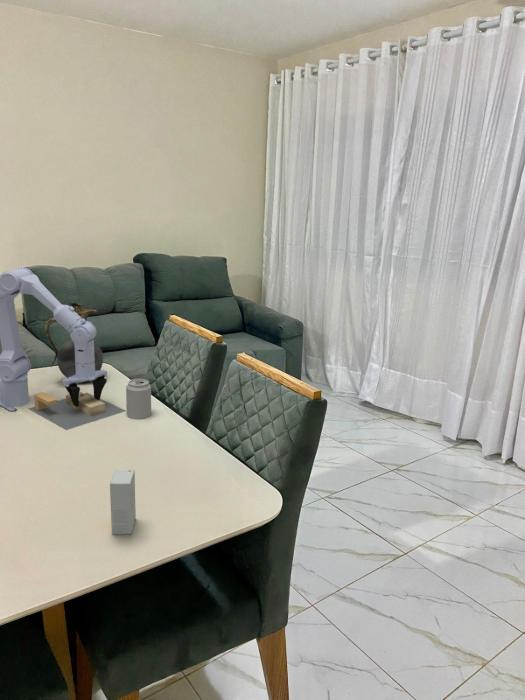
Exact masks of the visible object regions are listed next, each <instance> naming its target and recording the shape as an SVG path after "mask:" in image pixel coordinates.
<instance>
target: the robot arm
mask: <svg viewBox="0 0 525 700" xmlns="http://www.w3.org/2000/svg"><path fill="white" fill-rule="evenodd" d="M21 294H22V295H31V296H33V297H34V298H35V299H37V300H38V301H39V302H41V304H42V305H44V306H45V307H46V308H47V309H49V310H50V311H51V312H52V315H53V318H54V319H55V320H56V321H57V322H56V323H58V324H59V325H60V326H62V327H63V328H64V329H65V330H66V331H67V332H68V333H69V335H70V339H72V341H73V342H74V344H75V367H76V374H75V375H73V376H71V377H69V378H67V377H65V378H63V379H62V386H64V388H65V389H66V391H67V393H68V395H70V397H71V400H72V403H73V405H74V406H76V407H78V406H79V391H80V392H81V386H78V384H77V383H81V382H85V381H91V383H92V386H93V396H94V398H95V399H97V400H100V399H101V396H102V393H103V389H104V387H105V385H106V383H108V380H107V377H108V370H107V369H106V370H105V369H101V370H99V371H95V357H94V341H95V340H94V338H96V336H97V328H96V326H95V325H94V323H93V322H91V321H88V320H87V321H86V320H85V319H82V318H81V317H80V316H79V315H78V314H77V313H76V312H75V311H74V308H73V306H72V305H69V304H68V305H67V304H62V303H61V302H60V301H59V300H58V299H57V298H56V297H55V296H54V295H53V294H52V292H50V291H49V290H48V289H47V288H46V286H45V285H43V283H42V282H41V281H40V279H39V277H38V275H36V274H35V273H33V271H32V270H31V269H29V268H27V267H19V268H16V269H12V270H5V271H3V272H2V273H1V274H0V345H1V353H0V406H1V407H3V408H4V409H6V410H8V411H10V412H14V411H18V409H17V407H18V408H19V407H22V406H23V407H25V405H26V406H27V405H28V404H30V396H29V381H28V375H29V374H28V373H29V372H30V370H31V368H32V364H31V361H30V359H29V358H28V355H27V351H25V350H24V349H23V348H22V345H21V337H20V331H19V325H18V319H17V311H16V305H15V299H16V297H18V295H21ZM76 384H77V385H76Z"/></svg>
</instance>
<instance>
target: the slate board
mask: <svg viewBox="0 0 525 700" xmlns="http://www.w3.org/2000/svg"><path fill="white" fill-rule="evenodd" d="M80 392H81V390H80V391H79V397H81V396H80ZM84 394H86V395H88V396H90V397H92V398H94V394H91V393H88V392H85V393H84ZM33 399H34V406H33V407H29V408H28V410H30V411H32V412H33V413H35V414H36V415H38V416H41V417H42V418H44V419H46V420H48V421H49V422H51V423H52V424H55V425H56V426H58V427H59V428H62V429H64V431H67V430H71V429H74V428H77V427H81V426H83V425H86V424H90V423H92V422H96V421H99V420H103V419H106V418H108V417H111V416H116V415H118V414H121V413H124V412H127V409H124V408H121V407H120V406H117V405H114V404H112V403H110V402H108V401H106V400H104V399H102V398H100V400H99V401H101V402H103V403H105V413H101V414H98V415H95V416H92V417H91V416H89V415H87V414H85V413H83V412H81V411H79V410H77V409H75V408H73V407H71V406H69V405H67V403H66V398H62V399H59V400H58V399H57V398H55V397H53V396H52V395H50V394H48V393H46V392H43V391H42V392H39V393H34V394H33Z"/></svg>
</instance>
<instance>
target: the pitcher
mask: <svg viewBox="0 0 525 700" xmlns="http://www.w3.org/2000/svg"><path fill="white" fill-rule="evenodd" d="M69 304H70V305H69V306H72V307H73V308H74V311H75V312H76V313H77V314H78V315H79V316H80V317H81V318H82V319H85V320H86V321H88V320H87V319H88V317H89V315H90V314H91V313H93V312H95V313H97V312H98V310H96V309H94V308H91V307H87V306H86V307H82V306H81V304H80V303H77V302H69ZM53 323H58V322H57V321H56V320H55V319H54V317H51V318H49V319H48V320H47V321H46V323H45V326H44V332H45V336H46V339H47V340H48V342H49V343H50V346H51V347H52V349H53V350H54V354H55V355H54V359H53V360H52V363H51V365H50V367H52V366H54V364H55V362H56V361H57V367H58V369H59V371H60V373H61V374H62V375H63V376H64V377H65V378H69V377H71V376H73V375H75V374H76V367H75V344H74V342H73V341H72V339H71V338H69V339H67V340H66V341H64V342H62V344H61V346H60V347H59V349H58V351H57V347H56V346H55V344H54V343H53V341H52V338H51V335H50V331H49V328H50V325H51V324H53ZM94 357H95V371H99V370H102V367H103V364H104V353H103V351H102V348H101V346H100V345H99V344H98V342H96V341H95V340H94ZM88 383H92V381H85V382H81V383H77V384H76V385H77V386H78V385H82V384H88Z"/></svg>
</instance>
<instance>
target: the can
mask: <svg viewBox="0 0 525 700" xmlns="http://www.w3.org/2000/svg"><path fill="white" fill-rule="evenodd" d="M125 393H126V394H125V396H126V400H125V401H126V404H125V405H126V416H127V418H129V419H131V420H145V419H148V418H150V417H151V416H152V386H151V384H150V381H149V380H148V379H144V378H134V379H130V380H129V381H128V382H127V385H126V386H125Z"/></svg>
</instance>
